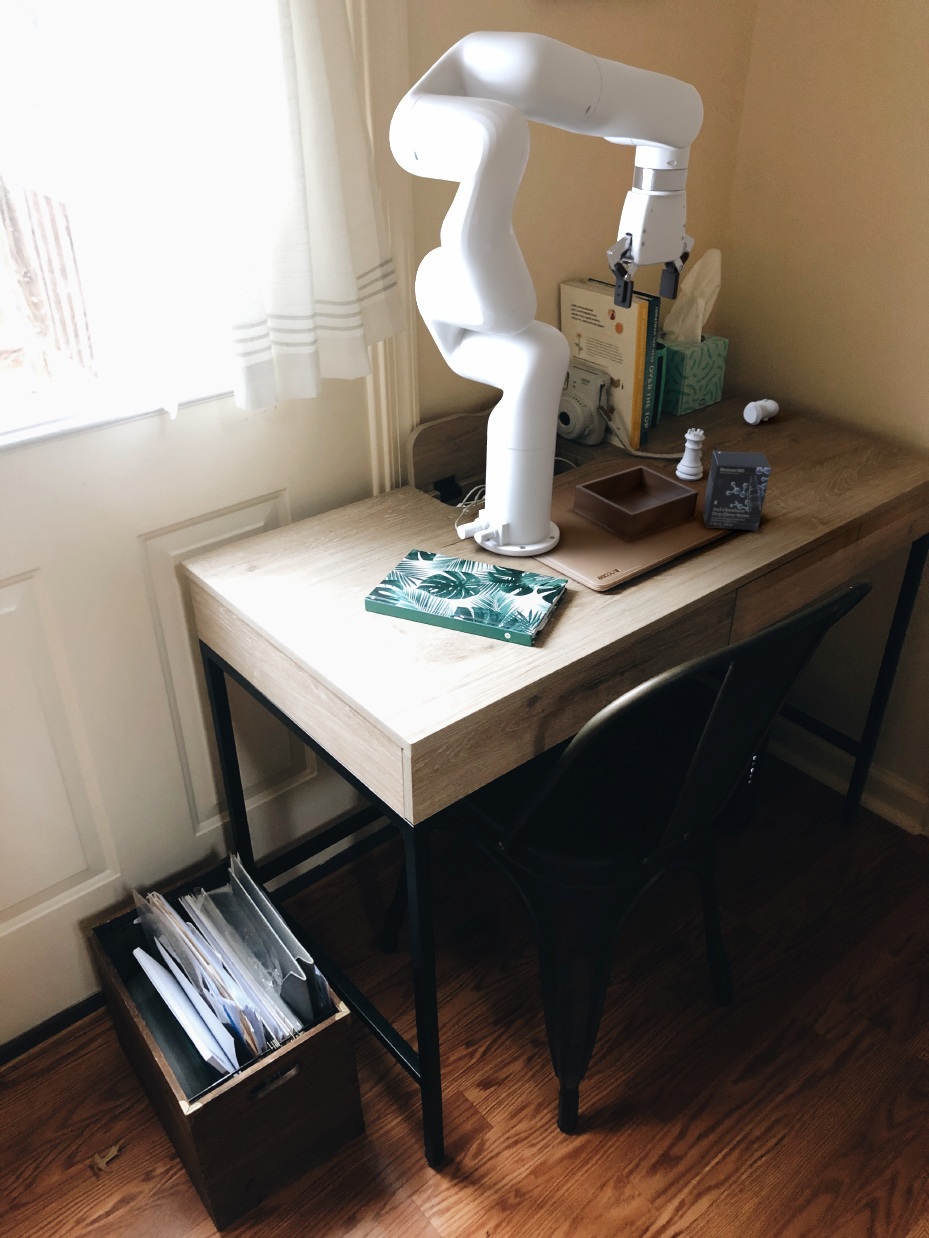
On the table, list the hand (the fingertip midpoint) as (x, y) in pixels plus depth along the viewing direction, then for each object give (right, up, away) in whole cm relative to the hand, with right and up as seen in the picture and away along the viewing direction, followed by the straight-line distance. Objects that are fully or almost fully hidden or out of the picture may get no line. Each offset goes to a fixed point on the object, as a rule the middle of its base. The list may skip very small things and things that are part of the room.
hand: (645, 302), depth 147 cm
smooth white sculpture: (+29, -10, +38) cm, 48 cm away
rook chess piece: (+10, -25, +15) cm, 30 cm away
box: (+13, -34, 0) cm, 36 cm away
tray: (-1, -32, +2) cm, 32 cm away
